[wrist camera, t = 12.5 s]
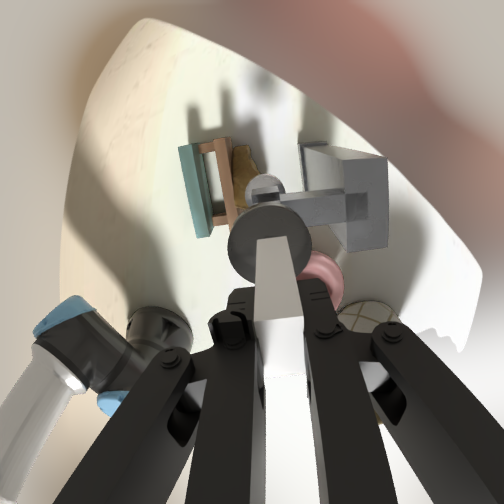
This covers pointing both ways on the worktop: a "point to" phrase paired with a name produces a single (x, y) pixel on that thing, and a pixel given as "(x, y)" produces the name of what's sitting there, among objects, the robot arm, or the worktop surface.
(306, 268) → the mortar and pestle
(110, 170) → the worktop surface
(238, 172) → the rock
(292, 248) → the ram
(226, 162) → the frame
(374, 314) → the planter
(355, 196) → the press frame
